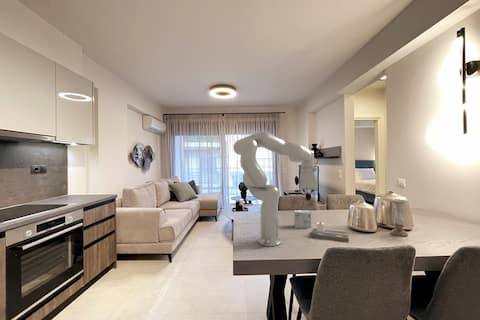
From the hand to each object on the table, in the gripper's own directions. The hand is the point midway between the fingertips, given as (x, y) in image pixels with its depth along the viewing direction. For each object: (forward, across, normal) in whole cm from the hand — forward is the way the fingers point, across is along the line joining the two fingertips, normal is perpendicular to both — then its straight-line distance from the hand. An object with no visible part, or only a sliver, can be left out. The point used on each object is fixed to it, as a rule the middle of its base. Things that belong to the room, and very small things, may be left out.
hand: (308, 200), depth 139 cm
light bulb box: (+21, +6, -15) cm, 27 cm away
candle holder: (+21, -50, -20) cm, 58 cm away
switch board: (+21, -12, 0) cm, 24 cm away
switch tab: (+18, -7, 0) cm, 20 cm away
